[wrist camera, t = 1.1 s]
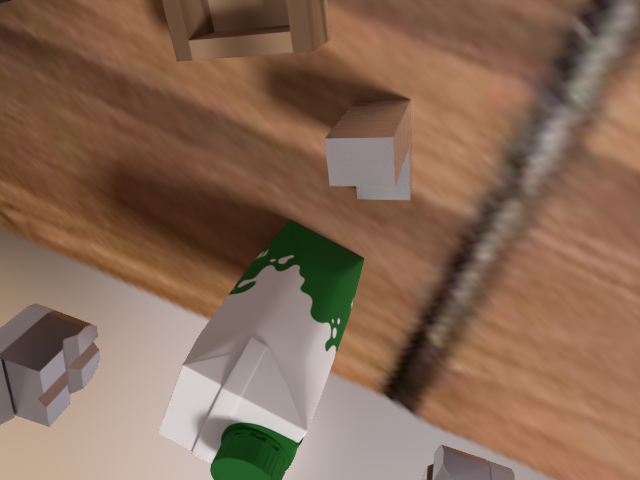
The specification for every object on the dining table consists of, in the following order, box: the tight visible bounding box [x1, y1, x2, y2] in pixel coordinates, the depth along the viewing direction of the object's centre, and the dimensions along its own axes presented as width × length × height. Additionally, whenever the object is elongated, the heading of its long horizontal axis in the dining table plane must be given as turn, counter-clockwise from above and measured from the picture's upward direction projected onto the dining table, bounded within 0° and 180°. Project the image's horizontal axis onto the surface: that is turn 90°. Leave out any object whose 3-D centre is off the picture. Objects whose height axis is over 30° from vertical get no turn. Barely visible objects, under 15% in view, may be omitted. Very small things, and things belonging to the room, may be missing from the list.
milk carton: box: [158, 221, 364, 480], centre depth 35 cm, size 9×9×20 cm
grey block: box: [325, 99, 413, 200], centre depth 33 cm, size 4×7×8 cm, turn 7°
